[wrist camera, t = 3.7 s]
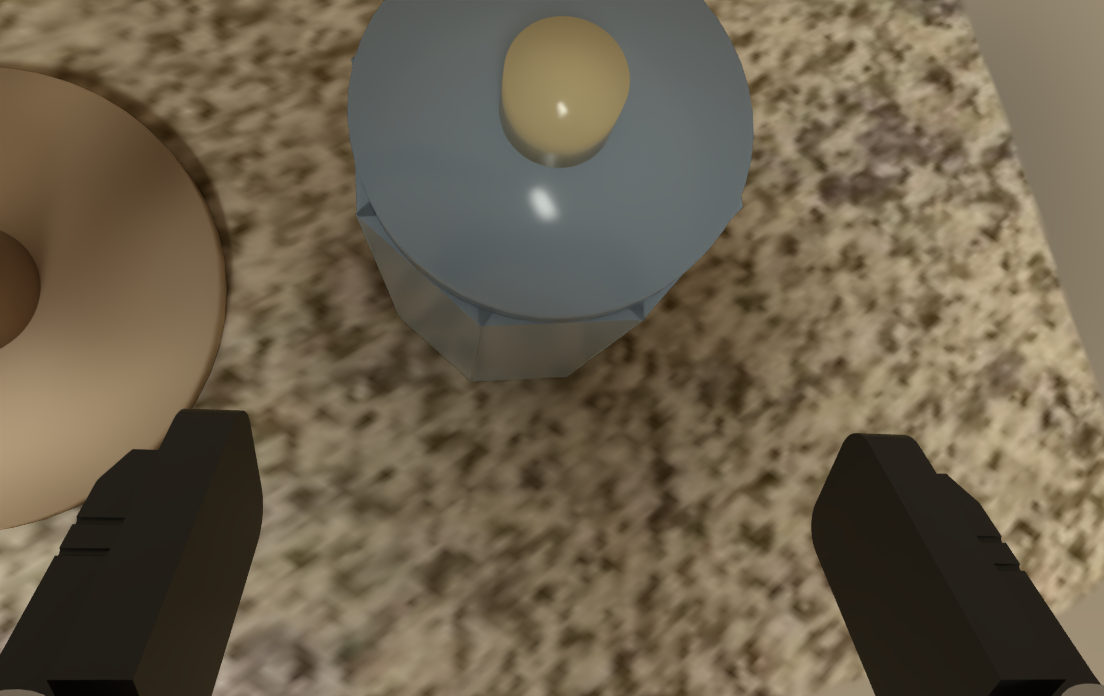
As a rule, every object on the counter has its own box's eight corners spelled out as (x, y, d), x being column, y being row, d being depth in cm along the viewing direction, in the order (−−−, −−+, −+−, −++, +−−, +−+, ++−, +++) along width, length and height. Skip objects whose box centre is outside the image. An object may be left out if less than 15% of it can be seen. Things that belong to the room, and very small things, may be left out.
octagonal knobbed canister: (349, 272, 21) (231, 75, 10) (504, 115, 22) (547, -213, 11) (521, 427, 21) (589, 397, 10) (668, 262, 22) (870, 75, 11)
